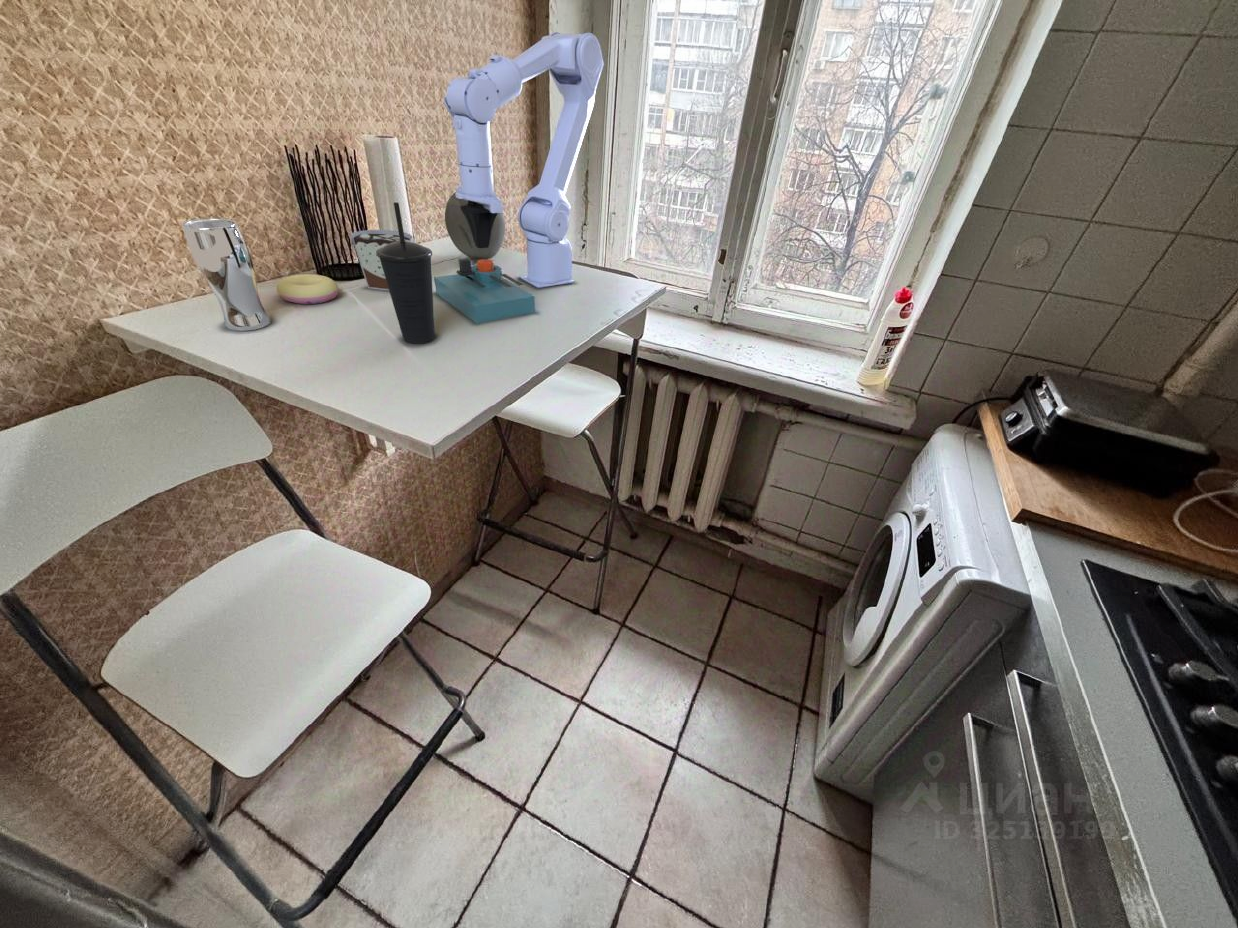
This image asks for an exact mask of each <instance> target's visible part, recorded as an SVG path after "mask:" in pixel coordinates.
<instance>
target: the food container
mask: <svg viewBox="0 0 1238 928" xmlns="http://www.w3.org/2000/svg"><path fill="white" fill-rule="evenodd" d="M404 237H405V241H408V242H413V243H416V241H415V239H414V238H413V236H412V234H410V233H408V232H405V231H404ZM349 240H350V245H351V246H354V249H355V253H356V255H357V258H358V262H359V265H360V267H361V270H362V274H363V276H364V280H365V284H366V286H367V289H372V290H373V289H375V290H381V291H389V288H388V285H387V281H386V278H385V275H384V271H383V268H382V264H381V261H380V258H379V257H378V256H377V254H376V251H377V250H378V249H379V248H382V247H384V246H385V245H387V244H390V243H393V242H398V241H400V237H399V231H398V230H392V229H366V230H359V231H355V232H351V233H350V239H349Z"/></svg>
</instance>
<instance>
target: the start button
mask: <svg viewBox="0 0 1238 928" xmlns="http://www.w3.org/2000/svg"><path fill="white" fill-rule="evenodd" d="M476 265H477V268H478V271H486V272H489V271H494V265H495V262H494V261H493V260H492V259H488V260H487V259H482V260H476Z"/></svg>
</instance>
